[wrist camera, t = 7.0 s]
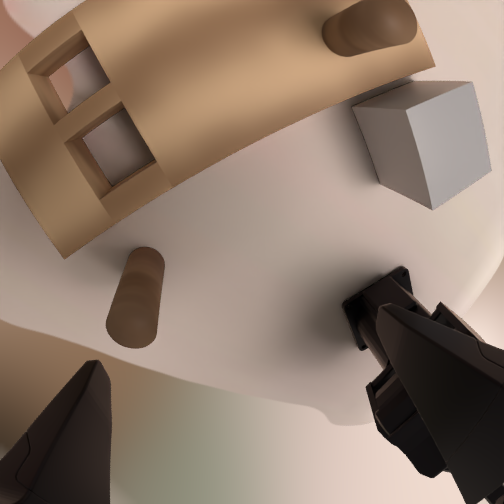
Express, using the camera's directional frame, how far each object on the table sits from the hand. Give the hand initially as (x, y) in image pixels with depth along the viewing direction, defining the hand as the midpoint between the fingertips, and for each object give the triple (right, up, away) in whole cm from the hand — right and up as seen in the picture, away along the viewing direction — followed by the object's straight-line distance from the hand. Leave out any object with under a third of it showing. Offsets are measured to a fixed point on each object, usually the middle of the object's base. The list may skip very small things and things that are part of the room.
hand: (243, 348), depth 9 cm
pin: (-7, +2, +11) cm, 14 cm away
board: (-3, +15, +6) cm, 16 cm away
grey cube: (+11, +11, +10) cm, 19 cm away
